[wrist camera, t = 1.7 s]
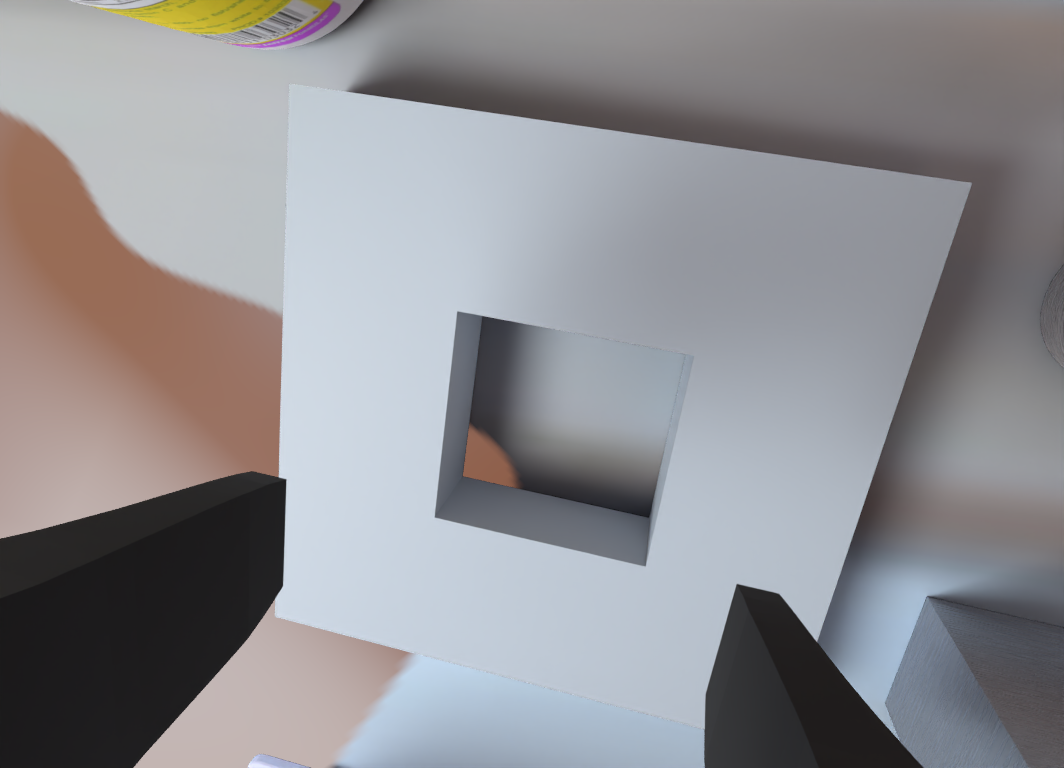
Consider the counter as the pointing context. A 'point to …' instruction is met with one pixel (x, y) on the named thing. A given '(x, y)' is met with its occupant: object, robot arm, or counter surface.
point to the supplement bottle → (240, 18)
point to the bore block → (599, 311)
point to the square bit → (980, 690)
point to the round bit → (1054, 317)
